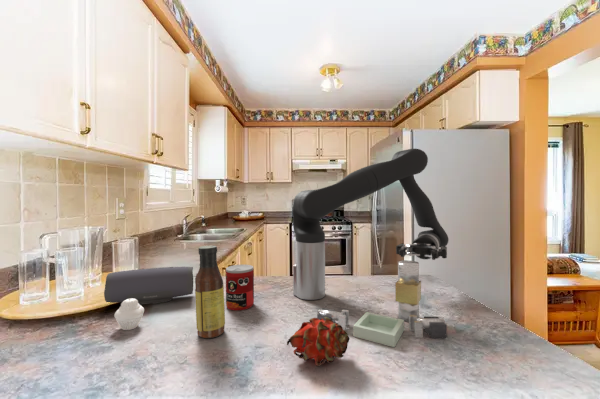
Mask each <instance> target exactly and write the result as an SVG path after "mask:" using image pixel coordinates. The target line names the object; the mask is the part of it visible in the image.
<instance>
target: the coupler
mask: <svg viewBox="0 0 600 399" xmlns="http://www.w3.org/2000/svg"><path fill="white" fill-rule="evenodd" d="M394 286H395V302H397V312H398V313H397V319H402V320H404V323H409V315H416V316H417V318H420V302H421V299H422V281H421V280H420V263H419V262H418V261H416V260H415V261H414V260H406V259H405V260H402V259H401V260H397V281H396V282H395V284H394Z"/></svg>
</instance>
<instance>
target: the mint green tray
mask: <svg viewBox="0 0 600 399" xmlns="http://www.w3.org/2000/svg"><path fill="white" fill-rule="evenodd" d="M352 326H353V327H352V332H353V334H352V336H354V338H357V339H362V340H366V341H370V342H373V343H376V344H380V345H385V346H387V347H388V346H389V347H392V348H395V347H396V346H397V344H398V342H399V340H400V338H401V336H402V335H403V333H404V331H405V321H404V320H402V319H399V318H398V317H397V318H396V317H394V316H393V317H392V316H389V315H388V316H387V315H384V314H383V315H382V314H378V313H373V312H370V311H369V312H367V311H366V312H365V313H364V314H363V315H362V316H361V317H360V318H359V319H358V320H357V321H356V322H355V323H354V324H353V325H352Z"/></svg>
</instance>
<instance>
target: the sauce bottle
mask: <svg viewBox="0 0 600 399" xmlns="http://www.w3.org/2000/svg"><path fill="white" fill-rule="evenodd" d="M217 254H218V247H217V246H216V245H202V246H199V247H198V255H199V269H198V272H197V274H196V276H195V279H194V282H195V290H194V293H195V298H194V299H195V313H196V314H195V317H196V318H195V321H196V330H197V332H196V333H197V336H198V337H200V338H202V339H212V338H216V337H220V336H221V335H222V334H224V332H225V327H226V326H225V324H226V314H225V313H226V311H225V293H224V290H225V289H224V287H225V286H224V280H223V276H222V274H221V272H220V267H219V265H218V262H217V260H218V259H217V258H218V256H217Z"/></svg>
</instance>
